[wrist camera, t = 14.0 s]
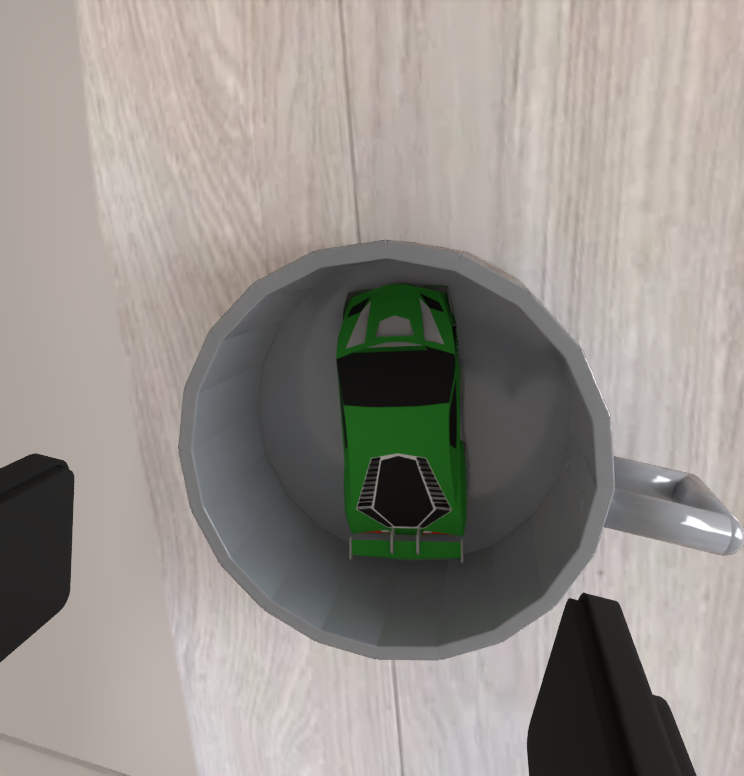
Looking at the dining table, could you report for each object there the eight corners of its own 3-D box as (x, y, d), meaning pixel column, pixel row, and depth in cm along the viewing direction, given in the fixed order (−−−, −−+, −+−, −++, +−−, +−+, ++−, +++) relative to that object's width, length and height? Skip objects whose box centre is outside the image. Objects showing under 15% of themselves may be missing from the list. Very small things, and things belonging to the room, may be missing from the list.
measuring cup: (236, 521, 26) (163, 598, 20) (274, 216, 23) (200, 205, 17) (639, 628, 23) (686, 750, 18) (749, 303, 20) (852, 324, 14)
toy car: (335, 287, 22) (317, 291, 20) (462, 279, 21) (458, 282, 19) (356, 533, 24) (342, 561, 22) (472, 535, 23) (470, 565, 21)
